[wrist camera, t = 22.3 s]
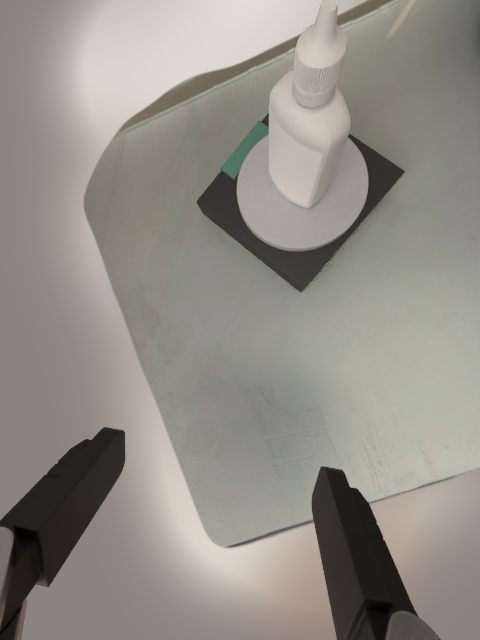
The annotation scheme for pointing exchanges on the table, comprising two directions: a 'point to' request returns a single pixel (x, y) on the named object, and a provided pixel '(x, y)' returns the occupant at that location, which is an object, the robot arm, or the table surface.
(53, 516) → the robot arm
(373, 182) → the scale
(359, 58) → the table surface
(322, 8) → the eye dropper bottle
